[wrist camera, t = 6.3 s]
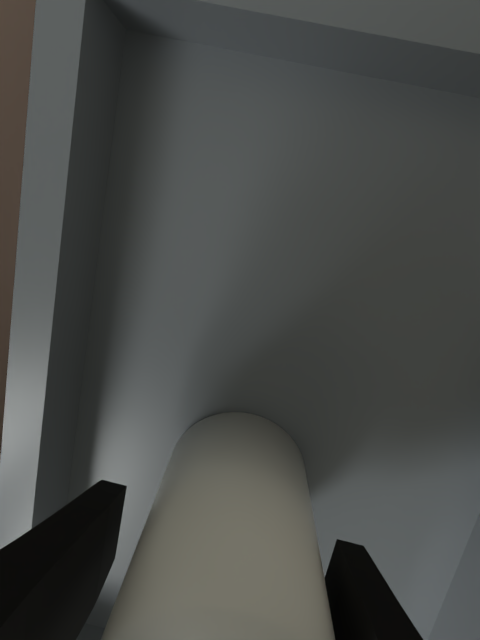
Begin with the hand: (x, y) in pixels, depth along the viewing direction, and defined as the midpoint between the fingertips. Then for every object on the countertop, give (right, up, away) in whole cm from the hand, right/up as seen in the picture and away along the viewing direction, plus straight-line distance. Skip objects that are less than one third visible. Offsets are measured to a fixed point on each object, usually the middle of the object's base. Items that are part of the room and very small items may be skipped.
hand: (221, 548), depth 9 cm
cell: (0, +1, +3) cm, 3 cm away
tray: (+2, +2, +3) cm, 4 cm away
